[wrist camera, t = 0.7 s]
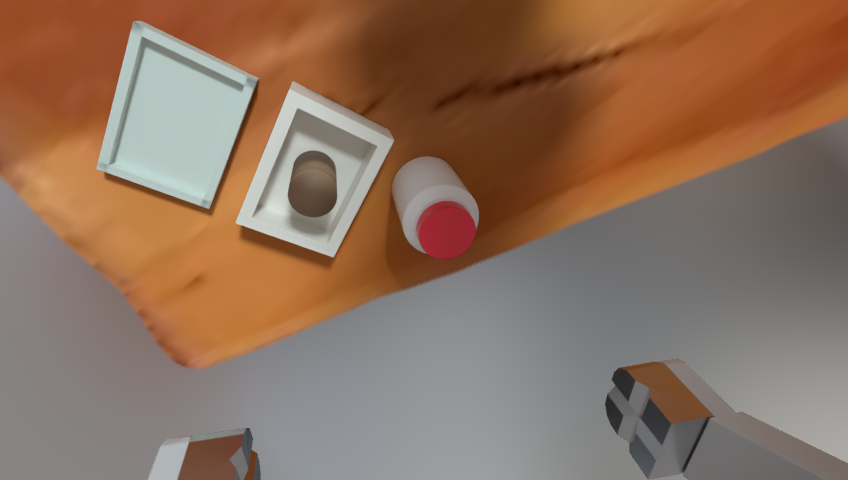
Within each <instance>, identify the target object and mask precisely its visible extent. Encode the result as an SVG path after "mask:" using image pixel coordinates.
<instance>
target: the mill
mask: <svg viewBox="0 0 848 480" xmlns="http://www.w3.org/2000/svg"><path fill="white" fill-rule="evenodd" d="M288 200H289V203H290V205H291V206H292V208H293V209H294V210H295V211H296V212H298V213H299V214H301V215H303V216H307V217H320V216H323V215H326V214H327V213H329V212H330V211H331V210H332V209H333V208H334V206H335V204H336V202H337V179H336V167H335V164H334V162H333V160H332V159H331V158H330V157H329V156H328V155H327V154H325V153H323V152H320V151H315V150H312V151H307V152H304V153H302V154H301V155H299V156H298V157H297V158H296V160H295V162H294V164H293V169H292V174H291V179H290V184H289V189H288Z"/></svg>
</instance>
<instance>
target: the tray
mask: <svg viewBox="0 0 848 480" xmlns="http://www.w3.org/2000/svg"><path fill="white" fill-rule="evenodd" d="M258 79H259V78H257V77H255V76H253V75H251V74H249V73H247V72H245V71H243V70H241V69H239V68H237V67H235V66H232V65H230V64H228V63H226V62H224V61H222V60H220V59H218V58H216V57H214V56H212V55H210V54H208V53H206V52H204V51H202V50H200V49H198V48H196V47H194V46H192V45H190V44H188V43H185V42H183V41H181V40H179V39H177V38H175V37H173V36H171V35H169V34H167V33H165V32H163V31H161V30H159V29H157V28H155V27H153V26H151V25H149V24H147V23H145V22H143V21H134V22H133V25H132V29H131V33H130V37H129V41H128V45H127V49H126V53H125V57H124V61H123V65H122V68H121V72H120V76H119V80H118V84H117V88H116V92H115V96H114V100H113V104H112V108H111V112H110V116H109V120H108V124H107V128H106V132H105V136H104V140H103V144H102V148H101V152H100V156H99V160H98V164H97V168H96V169H98V170H101V171H103V172H106V173H109V174H112V175H115V176H118V177H120V178H123V179H126V180H129V181H132V182H134V183H137V184H140V185H143V186H146V187H149V188H151V189H154V190H157V191H160V192H163V193H165V194H168V195H171V196H174V197H177V198H179V199H182V200H185V201H188V202H191V203H194V204H196V205H199V206H202V207H205V208H208V209H209V208H210V206H211V205H212V203H213V200H214V197H215V195H216V192H217V189H218V187H219V184H220V181H221V179H222V176H223V173H224V171H225V168H226V165H227V163H228V160H229V157H230V155H231V152H232V149H233V146H234V144H235V141H236V138H237V136H238V133H239V130H240V128H241V125H242V122H243V120H244V117H245V114H246V112H247V109H248V106H249V104H250V101H251V98H252V95H253V93H254V90H255V87H256V85H257V82H258Z"/></svg>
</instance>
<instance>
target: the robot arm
mask: <svg viewBox="0 0 848 480" xmlns="http://www.w3.org/2000/svg"><path fill="white" fill-rule="evenodd" d="M612 381H613V383H614V384H615V387H614V388H613V389H612V390H611V391H610V392H609V393H608V394H607V398H606V402H605V406H606V413H607V417H608V419H609V422H610V424H611V426H612V427H613V429H614V430H615V432H616V433H617V435H618V436H620V437H622V438H623V439H625V440H627V441H628V442H629V452H630V454H631V455H632V457H633V458H634V460H635V461H636V463H637V464H638V466H639V467H640V469H641V470H642V471H643V473H644V474H645V476H646V477H647V479H654V478H660V477H665V476H671V475H677V474H682V473H684V474H683V476H684V477H685V478H687V479H688V480H848V463H846V462H844V461H842V460H840V459H838V458H836V457H834V456H832V455H830V454H828V453H825V452H823V451H821V450H819V449H817V448H815V447H813V446H811V445H809V444H807V443H805V442H803V441H801V440H799V439H797V438H795V437H793V436H790V435H789V434H787V433H784V432H782V431H780V430H778V429H776V428H774V427H772V426H770V425H768V424H766V423H764V422H762V421H760V420H758V419H756V418H754V417H752V416H749V415H748V414H745V413H743V412H739V413H736V412H735V411H734V410H733V409H732V408H731V407H730V406H729V405H728V404H727V403H726V402H725V401H724V400H723V399H722V398H721V397H720V396H719V395H718V394H717V393H716V392H715V391H714V390H713V389H712V388H710V386H709V385H708V384H706V382H705V381H703V380H702V379H701V378H700V377H699V376H698V375H697V374H696V373H695V372H694V371H693V370H692V369H691V368H690V367H689V366H688V365H687V364H686V363H685V362H684V361H682V360H680V359H671V360H664V361H658V362H650V363H644V364H638V365H632V366H627V367H621V368H618V369H617V370H616V371H615V372H614V374H613V377H612ZM252 441H253V437H252V434H251V431H250V429H249V428H244V429H236V430H229V431H221V432H214V433H206V434H199V435H193V436H186V437H179V438H172V439H166V440H165V441H164V442H163V444H162V445H161V446H160V448H159V450H158V453H157V455H156V458H155V461H154V463H153V466H152V468H151V471H150V474H149V476H148V479H147V480H260V465H259V459H258V455H257V453H256V452H254V451H252V450H251V448H252Z"/></svg>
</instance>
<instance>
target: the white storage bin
mask: <svg viewBox="0 0 848 480" xmlns="http://www.w3.org/2000/svg"><path fill="white" fill-rule="evenodd" d="M393 142H394V139H393V137H392V135H391V132H390V130H389V129H387V128H385V127H383V126H381V125H379V124H377V123H375V122H373V121H371V120H369V119H367V118H365V117H363V116H361V115H359V114H357V113H355V112H353V111H351V110H349V109H347V108H345V107H343V106H341V105H339V104H337V103H335V102H333V101H331V100H329V99H327V98H325V97H323V96H321V95H319V94H317V93H315V92H313V91H311V90H309V89H307V88H305V87H304V86H302V85H300V84H298V83H296V82H294V81H293V82H292V84H291V86H290V89H289V91H288V94H287V96H286V99H285V101H284V104H283V106H282V109H281V111H280V114H279V116H278V119H277V121H276V124H275V126H274V129H273V131H272V134H271V136H270V139H269V141H268V143H267V146H266V148H265V151H264V153H263V156H262V158H261V161H260V163H259V166H258V168H257V171H256V173H255V176H254V178H253V181H252V183H251V186H250V188H249V191H248V193H247V196H246V198H245V201H244V203H243V205H242V208H241V210H240V213H239V215H238V218H237V220H236V224H239V225H242V226H245V227H248V228H251V229H253V230H256V231H259V232H262V233H265V234H268V235H271V236H273V237H276V238H279V239H282V240H285V241H288V242H290V243H293V244H296V245H299V246H302V247H305V248H308V249H310V250H313V251H316V252H319V253H322V254H325V255H327V256H330V257H334V256H335V254H336V252H337V250H338V248H339V246H340V244H341V242H342V240H343V238H344V236H345V234H346V232H347V231H348V229H349V227H350V225H351V223H352V221H353V219H354V217H355V215H356V213H357V211H358V209H359V207H360V206H361V204H362V202H363V200H364V198H365V196H366V194H367V192H368V190H369V188H370V186H371V184H372V182H373V181H374V179H375V177H376V175H377V173H378V171H379V169H380V167H381V165H382V163H383V161H384V159H385V157H386V155H387V154H388V152H389V150H390V148H391V146H392V144H393ZM312 150H315V151H320V152H323V153H325V154H327V155H328V156H329V157H330V158H331V159H332V160H333V162H334V164H335V167H336V179H337V202H336V204H335V206H334V208H333V209H332V210H331V211H330V212H329V213H327V214H326V215H323V216H320V217H307V216H303V215H301V214H299V213H298V212H296V211H295V210H294V209H293V208H292V206H291V205H290V203H289V200H288V189H289V184H290V179H291V174H292V169H293V164H294V162H295V160H296V158H297V157H298V156H299V155H301V154H302V153H304V152H307V151H312Z"/></svg>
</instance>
